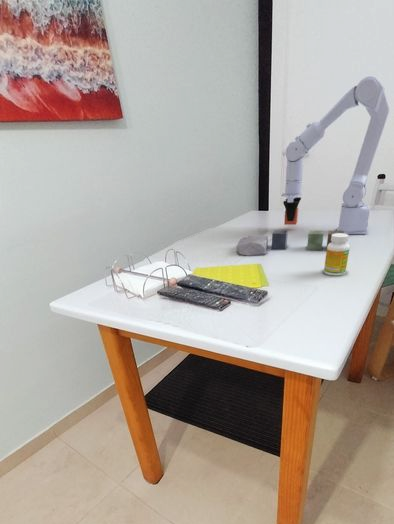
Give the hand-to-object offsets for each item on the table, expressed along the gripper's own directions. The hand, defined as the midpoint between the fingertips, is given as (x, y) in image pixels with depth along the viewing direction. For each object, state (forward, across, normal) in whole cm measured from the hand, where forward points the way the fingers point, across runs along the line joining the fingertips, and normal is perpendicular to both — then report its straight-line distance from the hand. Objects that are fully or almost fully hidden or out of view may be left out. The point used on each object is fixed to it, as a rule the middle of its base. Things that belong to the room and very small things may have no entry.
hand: (291, 219), depth 129 cm
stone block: (+4, +29, -9) cm, 31 cm away
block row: (+4, +25, +8) cm, 26 cm away
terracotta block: (+1, 0, 0) cm, 1 cm away
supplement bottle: (+4, +47, +17) cm, 50 cm away
